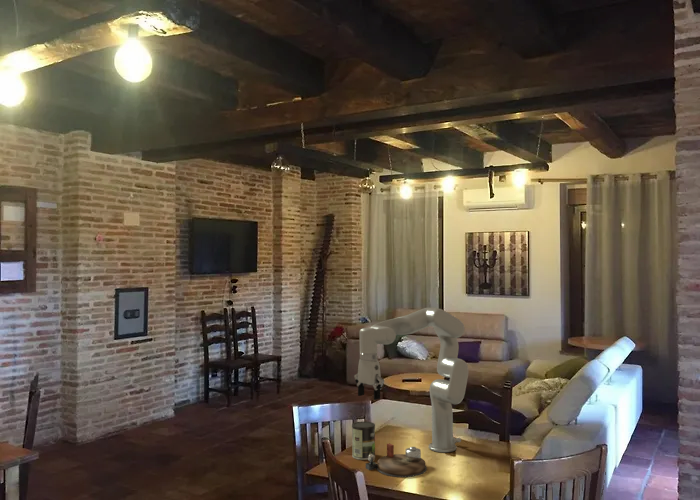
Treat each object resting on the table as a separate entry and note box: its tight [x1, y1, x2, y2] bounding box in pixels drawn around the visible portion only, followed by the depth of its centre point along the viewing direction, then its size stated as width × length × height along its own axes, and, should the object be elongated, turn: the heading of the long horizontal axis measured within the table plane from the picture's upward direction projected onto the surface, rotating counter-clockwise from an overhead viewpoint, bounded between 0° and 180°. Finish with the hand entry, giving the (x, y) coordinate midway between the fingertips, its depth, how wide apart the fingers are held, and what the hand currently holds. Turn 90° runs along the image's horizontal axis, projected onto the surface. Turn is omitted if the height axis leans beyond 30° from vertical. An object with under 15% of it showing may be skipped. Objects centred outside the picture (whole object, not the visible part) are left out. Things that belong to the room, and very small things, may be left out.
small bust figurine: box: [365, 454, 378, 471], centre depth 244 cm, size 4×3×6 cm
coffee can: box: [351, 421, 376, 461], centre depth 259 cm, size 10×10×14 cm
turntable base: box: [376, 463, 428, 478], centre depth 244 cm, size 21×21×1 cm
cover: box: [405, 446, 422, 462], centre depth 247 cm, size 6×6×5 cm
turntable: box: [377, 443, 426, 476], centre depth 244 cm, size 20×20×7 cm
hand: (368, 397), depth 249 cm, fingers open, 9 cm apart
